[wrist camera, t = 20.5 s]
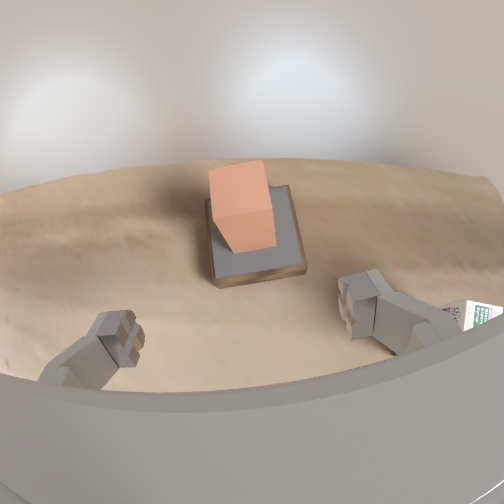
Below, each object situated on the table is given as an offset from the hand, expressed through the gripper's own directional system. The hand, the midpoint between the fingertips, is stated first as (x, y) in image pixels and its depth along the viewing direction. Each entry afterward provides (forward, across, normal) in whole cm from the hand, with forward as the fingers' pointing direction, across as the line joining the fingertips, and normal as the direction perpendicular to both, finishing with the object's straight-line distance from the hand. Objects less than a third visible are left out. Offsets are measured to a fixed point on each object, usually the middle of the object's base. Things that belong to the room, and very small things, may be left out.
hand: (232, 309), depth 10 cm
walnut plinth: (+25, 0, +9) cm, 27 cm away
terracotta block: (+22, 0, +6) cm, 23 cm away
